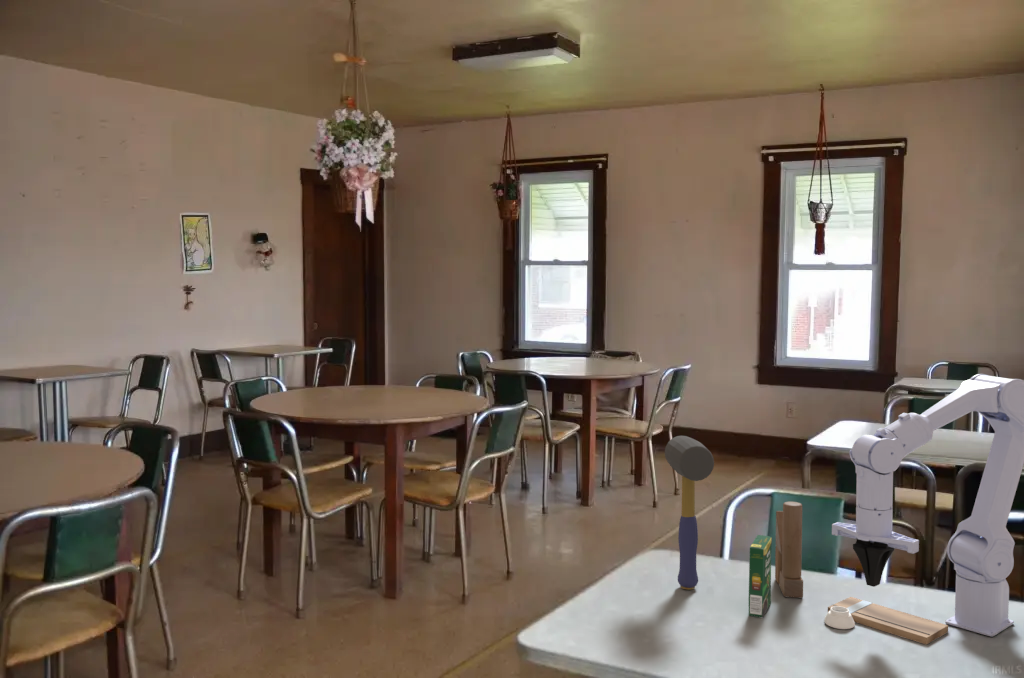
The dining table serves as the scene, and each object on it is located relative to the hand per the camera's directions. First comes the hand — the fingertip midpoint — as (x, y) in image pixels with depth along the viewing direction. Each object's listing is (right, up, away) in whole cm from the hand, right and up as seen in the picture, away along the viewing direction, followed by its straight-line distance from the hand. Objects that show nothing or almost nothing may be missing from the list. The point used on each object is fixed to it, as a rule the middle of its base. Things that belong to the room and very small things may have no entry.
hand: (873, 584), depth 148 cm
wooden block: (-7, -8, +23) cm, 25 cm away
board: (+5, -8, +6) cm, 11 cm away
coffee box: (-16, -8, +12) cm, 22 cm away
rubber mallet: (-27, -8, +24) cm, 37 cm away
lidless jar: (-4, -9, +5) cm, 11 cm away
